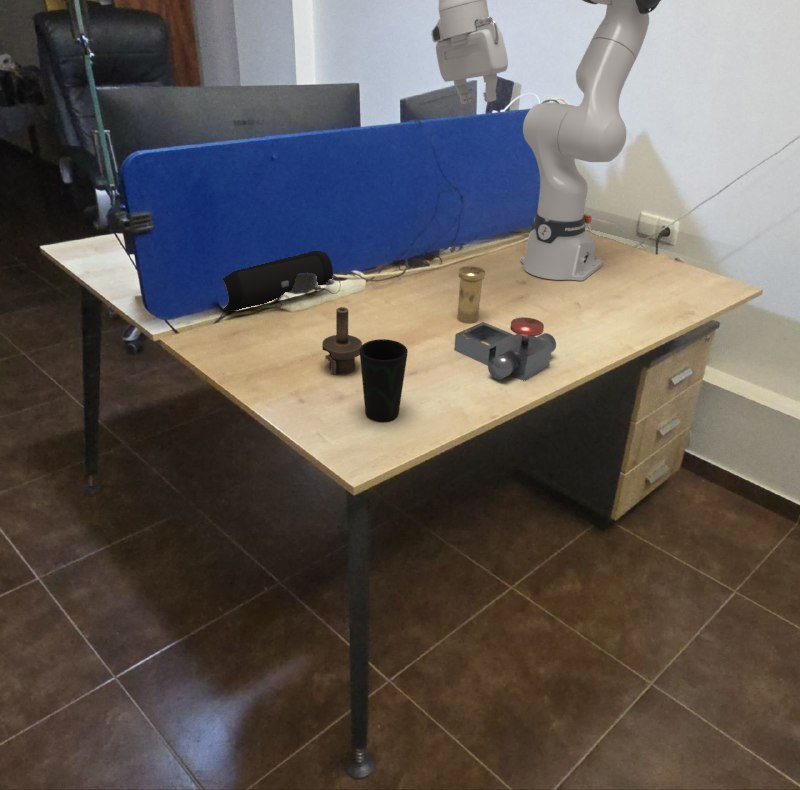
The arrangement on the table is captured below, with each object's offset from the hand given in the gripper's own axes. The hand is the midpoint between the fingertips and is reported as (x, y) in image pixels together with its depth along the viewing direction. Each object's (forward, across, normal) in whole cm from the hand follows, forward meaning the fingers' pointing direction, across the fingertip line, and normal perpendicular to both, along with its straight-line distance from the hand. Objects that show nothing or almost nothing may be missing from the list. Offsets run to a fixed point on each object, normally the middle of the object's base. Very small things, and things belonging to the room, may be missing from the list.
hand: (478, 102), depth 136 cm
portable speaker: (+31, +25, +45) cm, 60 cm away
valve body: (+45, -16, +13) cm, 49 cm away
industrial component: (+38, -10, +42) cm, 57 cm away
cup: (+41, -27, +42) cm, 65 cm away
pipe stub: (+42, +2, +10) cm, 43 cm away
